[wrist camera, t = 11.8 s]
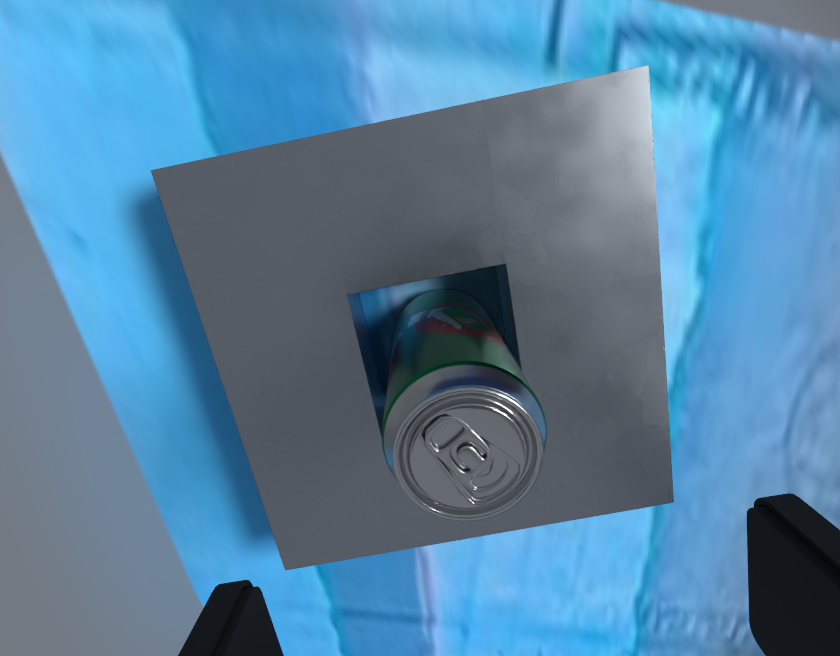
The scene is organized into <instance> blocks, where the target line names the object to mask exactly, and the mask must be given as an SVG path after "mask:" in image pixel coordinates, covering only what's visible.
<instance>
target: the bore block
mask: <svg viewBox="0 0 840 656" xmlns="http://www.w3.org/2000/svg"><path fill="white" fill-rule="evenodd" d="M151 173H152V176H153V179H154V182H155V184H156V187H157V190H158V193H159V196H160V199H161V202H162V205H163V208H164V211H165V214H166V217H167V220H168V223H169V226H170V229H171V232H172V235H173V238H174V241H175V244H176V247H177V250H178V253H179V256H180V259H181V262H182V265H183V268H184V271H185V274H186V277H187V280H188V283H189V286H190V289H191V292H192V295H193V298H194V301H195V303H196V306H197V309H198V312H199V315H200V318H201V321H202V324H203V327H204V330H205V333H206V336H207V339H208V342H209V345H210V348H211V351H212V354H213V357H214V360H215V363H216V366H217V369H218V372H219V375H220V378H221V381H222V384H223V387H224V390H225V393H226V396H227V399H228V402H229V405H230V408H231V411H232V414H233V417H234V419H235V422H236V425H237V428H238V431H239V434H240V437H241V440H242V443H243V446H244V449H245V452H246V455H247V458H248V461H249V464H250V467H251V470H252V473H253V476H254V479H255V482H256V485H257V488H258V491H259V494H260V497H261V500H262V503H263V506H264V509H265V512H266V515H267V518H268V521H269V524H270V527H271V530H272V533H273V535H274V538H275V541H276V544H277V547H278V550H279V553H280V556H281V559H282V562H283V565H284V568H285V570H290V569H296V568H302V567H307V566H313V565H319V564H324V563H330V562H336V561H342V560H347V559H353V558H359V557H364V556H370V555H376V554H382V553H387V552H393V551H399V550H404V549H410V548H416V547H422V546H427V545H433V544H439V543H444V542H450V541H456V540H462V539H467V538H473V537H479V536H485V535H490V534H496V533H502V532H507V531H513V530H519V529H525V528H530V527H536V526H542V525H547V524H553V523H559V522H565V521H570V520H576V519H582V518H587V517H593V516H599V515H605V514H610V513H616V512H622V511H627V510H633V509H639V508H645V507H650V506H656V505H662V504H667V503H673V502H674V499H673V481H672V464H671V447H670V429H669V412H668V394H667V377H666V360H665V342H664V325H663V308H662V290H661V273H660V255H659V238H658V221H657V203H656V186H655V169H654V151H653V134H652V116H651V99H650V82H649V65H647V66H643V67H638V68H633V69H629V70H624V71H619V72H614V73H610V74H605V75H600V76H595V77H591V78H586V79H581V80H576V81H572V82H567V83H562V84H558V85H553V86H548V87H543V88H539V89H534V90H529V91H524V92H520V93H515V94H510V95H505V96H501V97H496V98H491V99H487V100H482V101H477V102H472V103H468V104H463V105H458V106H453V107H449V108H444V109H439V110H434V111H430V112H425V113H420V114H416V115H411V116H406V117H401V118H397V119H392V120H387V121H382V122H378V123H373V124H368V125H363V126H359V127H354V128H349V129H345V130H340V131H335V132H330V133H326V134H321V135H316V136H311V137H307V138H302V139H297V140H292V141H288V142H283V143H278V144H274V145H269V146H264V147H259V148H255V149H250V150H245V151H240V152H236V153H231V154H226V155H221V156H217V157H212V158H207V159H203V160H198V161H193V162H188V163H184V164H179V165H174V166H169V167H165V168H160V169H155V170H151ZM490 266H495V269H496V275H497V282H498V288H499V295H500V301H501V308H502V314H503V321H504V327H505V334H506V340H507V347H508V349H509V351H510V353H511V354H512V356H513V358H514V360H515V361H516V363H517V365H518V366H519V368H520V370H521V371H522V373H523V375H524V376H525V378H526V380H527V381H528V383H529V385H530V386H531V388H532V390H533V391H534V393H535V395H536V397H537V398H538V400H539V402H540V404H541V406H542V409H543V412H544V415H545V419H546V425H547V441H546V446H545V451H544V454H543V462H542V467H541V471H540V473H539V476H538V479H537V480H536V482H535V484H534V485H533V487H532V489H531V490H530V491H529V492H528V494H527V495H526V496H525V497H524V498H523V499H522V500H521V501H520V502H519V503H517V504H516V505H515V506H513V507H512V508H510V509H509V510H507V511H505V512H503V513H501V514H499V515H496V516H493V517H490V518H487V519H482V520H477V521H453V520H449V519H444V518H441V517H438V516H435V515H432V514H431V513H429V512H427V511H425V510H423V509H422V508H420V507H419V506H418V505H416V504H415V503H414V502H413V501H412V500H411V499H410V498H409V497H408V496H407V495H406V493H405V492H404V490H403V489H402V487H401V486H400V484H399V482H398V481H397V480H396V478H395V477H394V475H393V474H392V473H391V471H390V469H389V467H388V465H387V463H386V460H385V457H384V453H383V449H382V438H381V437H382V426H383V417H384V409H385V401H384V397H383V393H382V389H381V385H380V380H379V376H378V372H377V368H376V364H375V359H374V355H373V351H372V347H371V342H370V338H369V334H368V330H367V326H366V321H365V317H364V313H363V309H362V304H361V300H360V296H359V292H363V291H368V290H373V289H378V288H383V287H388V286H393V285H398V284H403V283H409V282H414V281H419V280H424V279H429V278H434V277H439V276H444V275H449V274H454V273H459V272H464V271H469V270H474V269H479V268H485V267H490Z"/></svg>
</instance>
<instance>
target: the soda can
mask: <svg viewBox="0 0 840 656" xmlns="http://www.w3.org/2000/svg"><path fill="white" fill-rule="evenodd" d="M381 438H382V449H383V453H384V457H385V460H386V463H387V465H388V467H389V469H390V471H391V473H392V474H393V475H394V477H395V478H396V480H397V481H398V482H399V484H400V486H401V487H402V489H403V490H404V492H405V493H406V495H407V496H408V497H409V498H410V499H411V500H412V501H413V502H414V503H415V504H416V505H418V506H419V507H420V508H422V509H423V510H425V511H427V512H429V513H431V514H432V515H435V516H438V517H441V518H444V519H449V520H453V521H477V520H482V519H487V518H490V517H493V516H496V515H499V514H501V513H503V512H505V511H507V510H509V509H510V508H512V507H513V506H515V505H516V504H517V503H519V502H520V501H521V500H522V499H523V498H524V497H525V496H526V495H527V494H528V492H529V491H530V490H531V489H532V487H533V485H534V484H535V482H536V480H537V479H538V476H539V473H540V471H541V467H542V462H543V454H544V451H545V446H546V441H547V425H546V419H545V415H544V412H543V409H542V406H541V404H540V402H539V400H538V398H537V397H536V395H535V393H534V391H533V390H532V388H531V386H530V385H529V383H528V381H527V380H526V378H525V376H524V375H523V373H522V371H521V370H520V368H519V366H518V365H517V363H516V361H515V360H514V358H513V356H512V354H511V353H510V351H509V349H508V348H507V346H506V344H505V343H504V341H503V339H502V338H501V336H500V334H499V333H498V331H497V329H496V328H495V326H494V324H493V323H492V321H491V319H490V318H489V316H488V314H487V313H486V311H485V309H484V308H483V307H482V306H481V304H479V303H478V302H477V301H476V300H475V299H473V298H472V297H470V296H469V295H467V294H464V293H462V292H459V291H455V290H448V289H440V290H433V291H429V292H426V293H424V294H421V295H420V296H418V297H416V298H415V299H413V300H412V301H411V302H410V303H409V304H408V305H407V306H406V307H405V308H404V309H403V311H402V312H401V314H400V315H399V317H398V320H397V322H396V325H395V329H394V337H393V345H392V353H391V361H390V369H389V377H388V385H387V393H386V401H385V409H384V417H383V426H382V437H381Z"/></svg>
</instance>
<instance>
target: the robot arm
mask: <svg viewBox="0 0 840 656" xmlns="http://www.w3.org/2000/svg"><path fill="white" fill-rule="evenodd" d="M747 546H748V587H749V622H750V628H751V631H752V634H753V636H754V638H755V640H756V642H757V644H758V645H759V647H760V648H761V650H762V651H763V652H764V654H765V655H766V656H840V530H839V529H838V528H836V527H835V526H834V525H833V524H831V523H830V522H829V521H828V520H826V519H825V518H824V517H823V516H822V515H820V514H819V513H818V512H817V511H815V510H814V509H813V508H812V507H810V506H809V505H808V504H807V503H805V502H804V501H803V500H802V499H800V498H799V497H797V496H796V495H794V494H790V493H788V494H782V495H776V496H769V497H763V498H758V499H756V501H755V502H754V508H750V509H748V511H747ZM178 656H284V655H283V652H282V650H281V647H280V644H279V641H278V638H277V635H276V632H275V629H274V626H273V623H272V620H271V617H270V615H269V612H268V609H267V606H266V603H265V600H264V597H263V594H262V591H261V589H260V588H259V587H253V585H252V583H251V582H250V581H249V580H243V581H237V582H230V583H224V584H219V585H218V586H216V587H215V589H214V590H213V592H212V594H211V595H210V597H209V599H208V601H207V603H206V605H205V607H204V608H203V610H202V612H201V614H200V616H199V618H198V620H197V622H196V623H195V625H194V627H193V629H192V631H191V633H190V635H189V637H188V638H187V640H186V642H185V644H184V646H183V648H182V649H181V651H180V653H179V655H178Z"/></svg>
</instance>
